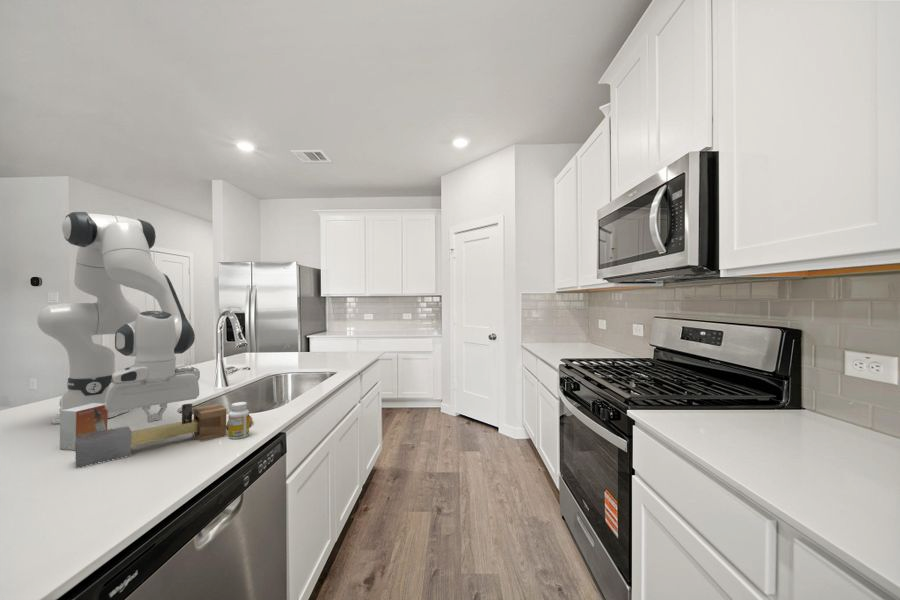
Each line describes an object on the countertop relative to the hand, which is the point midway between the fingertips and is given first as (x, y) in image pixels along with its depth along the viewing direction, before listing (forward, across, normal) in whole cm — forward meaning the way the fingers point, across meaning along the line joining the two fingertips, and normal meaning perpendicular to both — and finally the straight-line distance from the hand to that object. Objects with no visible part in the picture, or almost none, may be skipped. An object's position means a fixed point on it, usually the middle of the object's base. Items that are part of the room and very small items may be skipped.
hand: (154, 420), depth 102 cm
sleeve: (+7, +10, 0) cm, 12 cm away
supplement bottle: (+7, -19, +7) cm, 21 cm away
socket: (+7, -13, 0) cm, 15 cm away
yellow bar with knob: (+5, -5, 0) cm, 7 cm away
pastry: (+8, -22, -2) cm, 24 cm away
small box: (+8, +13, -16) cm, 22 cm away
